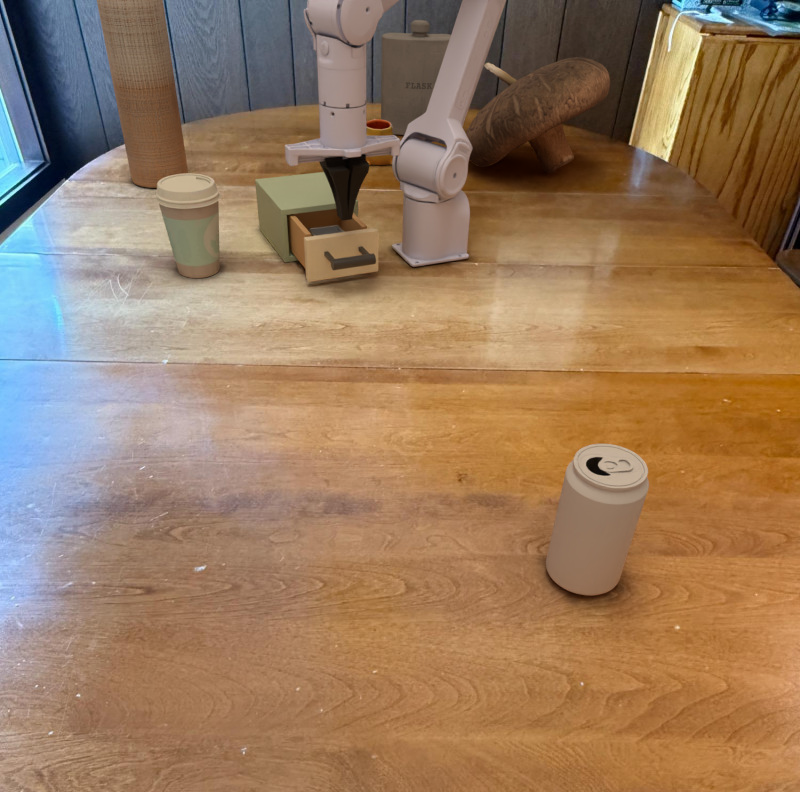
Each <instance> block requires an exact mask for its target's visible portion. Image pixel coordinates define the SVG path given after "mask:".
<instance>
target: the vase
mask: <svg viewBox="0 0 800 792" xmlns="http://www.w3.org/2000/svg"><path fill="white" fill-rule="evenodd" d="M96 4H97V9H98V14H99V20H100V24H101V30H102V36H103V41H104V45H105V50H106V56H107V61H108V65H109V66H108V67H109V71H110V76H111V81H112V86H113V91H114V92H113V93H114V95H115V101H116V106H117V112H118V117H119V121H120V127H121V132H122V137H123V142H124V143H123V144H124V147H125V152H126V157H127V163H128V168H129V173H130V177H131V181H132V183H133V184H134V185H136V186H139V187H142V188H148V189H157V183H158V181H159V180H161V179H162V178H164V177H167V176H171V175H176V174H185V173H189V168H188V162H187V153H186V149H185V142H184V141H185V140H184V135H183V134H184V133H183V128H182V121H181V114H180V113H181V112H180V108H179V101H178V93H177V88H176V80H175V74H174V67H173V59H172V53H171V46H170V40H169V33H168V25H167V20H166V12H165V6H164V1H163V0H96Z"/></svg>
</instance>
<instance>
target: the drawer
mask: <svg viewBox="0 0 800 792" xmlns="http://www.w3.org/2000/svg"><path fill="white" fill-rule="evenodd" d="M332 225H339V226H340V227H341V228H342V229H343V230H344V231H345V232H340V233H333V234H325V235H318V236H311V233H310V232H309V231H308V229H309V228H317V227H324V226H332ZM287 227H288V241H289V249H290V250H291V251H292V253H293V254H294V255H295V256H296V258H297V259H298V260H299V261H298V262H299V263H300V264H301V265H302V266H303V268H304V269H305V279H306V280H307V282H308V283H311V282H319V281H324V280H331V279H336V278H344V277H349V276H350V277H351V276H356V275H357V276H358V275H363V274H369V273H375V272H379V239H380V238H379V237H380V236H379V233H380V232H379V230H378V229H377V227H369V228H368V225H367V224H366V223H365V222H364V221H362V219H361V218H359V216H358V217H357V216H356V215H355V214H354V213H353V216H352V219H351V220H341V219H340V218H339V217H338V215H337V209H330V210H322V211H314V212H306V213H298V214H290V215H287Z"/></svg>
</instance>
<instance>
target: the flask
mask: <svg viewBox="0 0 800 792" xmlns="http://www.w3.org/2000/svg"><path fill="white" fill-rule="evenodd" d="M410 31H411V32H412V33H407V32H386V33H383V34H382V35H381V59H380V61H381V63H380V65H381V70H380V71H381V75H380V77H381V78H380V79H381V80H380V81H381V82H380V120H386V121H389V122H390V123H391V124H392V126H393V133H394V135H395V136H400V137H401V136H403V137H404V135H405V133H406V130H407V127H408V124H409V123H411V122H412V121H414V120H415V119H417V118H418V117H420V116H421V115H423V114H424V113H425V112H426V110H427V107H428V104H429V101H430V98H431V95H432V92H433V89H434V86H435V83H436V80H437V77H438V74H439V71H440V68H441V65H442V62H443V59H444V55H445V52H446V49H447V46H448V43H449V40H450V37H451V34H448V33H428V32H430V23H429V21H427V20H423V19H415V20H413V21H412V22H411V23H410Z"/></svg>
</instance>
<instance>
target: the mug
mask: <svg viewBox="0 0 800 792" xmlns="http://www.w3.org/2000/svg"><path fill="white" fill-rule="evenodd" d="M366 135H368V136H390V135H394V133H393V126H392V124H391V123H390V122H389V121H386V120H381V118H380V119H379V118H378V119H377V118H373V119H371V120H366ZM366 161H367V162H368V163H369V166H387V165H390V166H392V161H393V156H391V155H381V156H371V157H366Z"/></svg>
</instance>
